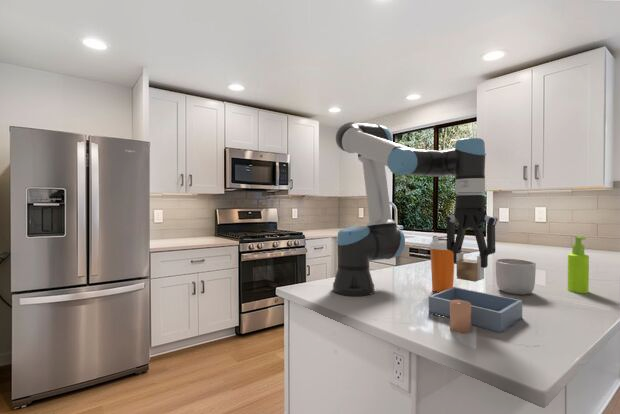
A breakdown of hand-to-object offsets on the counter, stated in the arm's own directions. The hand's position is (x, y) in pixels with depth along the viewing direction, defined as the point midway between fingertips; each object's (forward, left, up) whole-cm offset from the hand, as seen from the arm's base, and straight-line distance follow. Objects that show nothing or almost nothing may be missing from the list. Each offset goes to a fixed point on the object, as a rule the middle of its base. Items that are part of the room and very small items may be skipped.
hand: (470, 277), depth 93 cm
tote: (0, +3, -12) cm, 12 cm away
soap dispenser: (+14, +56, -12) cm, 59 cm away
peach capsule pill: (+2, -10, -12) cm, 15 cm away
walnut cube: (0, 0, 0) cm, 0 cm away
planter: (-1, +39, -12) cm, 41 cm away
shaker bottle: (-19, +21, -12) cm, 31 cm away
